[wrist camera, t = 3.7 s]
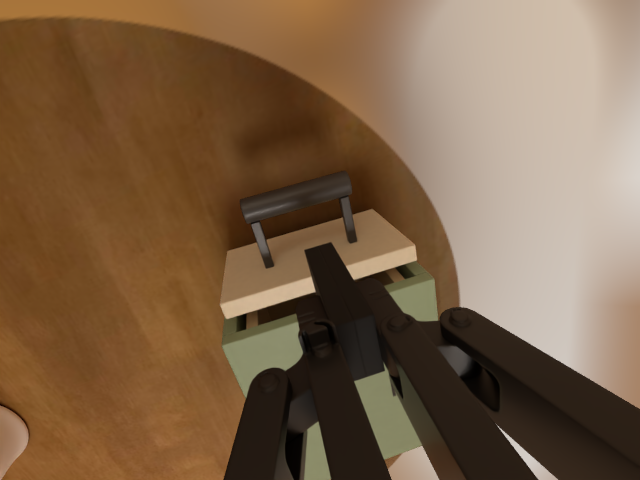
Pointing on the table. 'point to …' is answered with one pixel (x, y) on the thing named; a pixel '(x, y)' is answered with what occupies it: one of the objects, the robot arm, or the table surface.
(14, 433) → the mug
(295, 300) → the drawer
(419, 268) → the cabinet
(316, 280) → the robot arm
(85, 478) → the table surface
